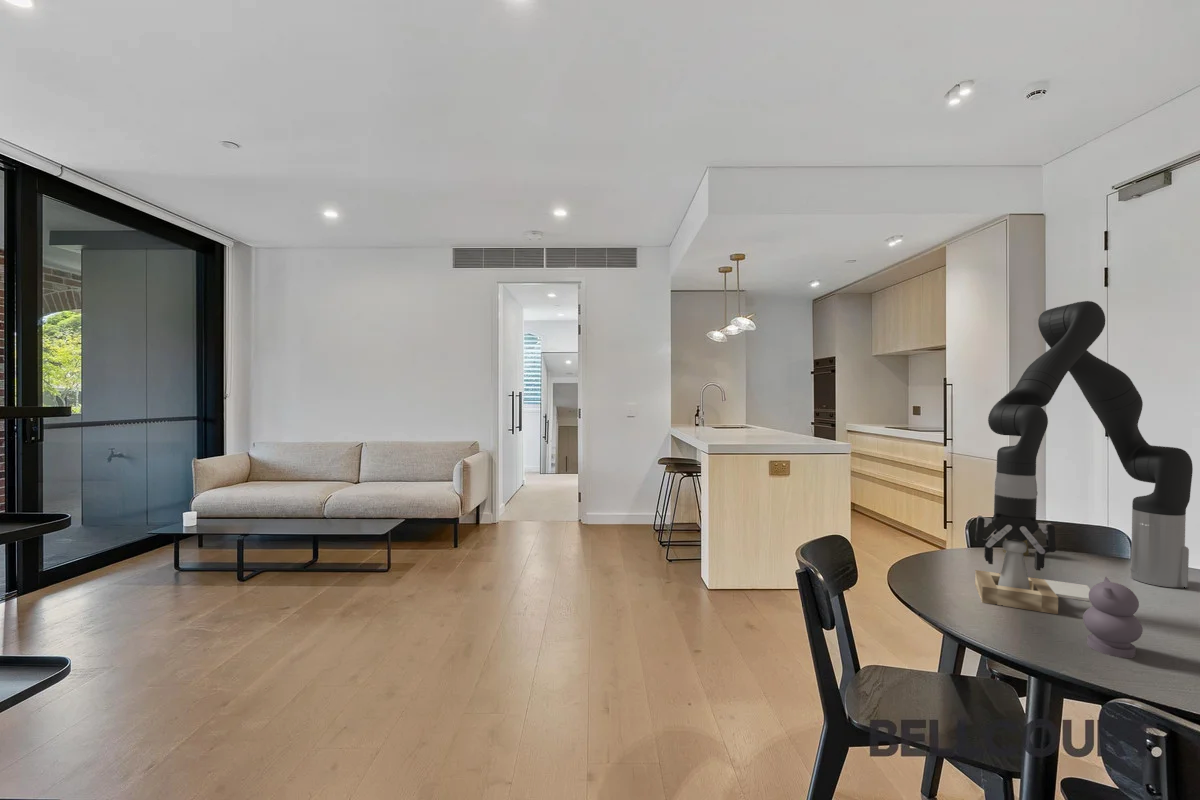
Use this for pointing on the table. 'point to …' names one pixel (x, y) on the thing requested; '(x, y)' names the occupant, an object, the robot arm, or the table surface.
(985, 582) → the socket block
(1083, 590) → the grey tile
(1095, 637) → the stacked rounded figure
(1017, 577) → the salt shaker
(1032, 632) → the table surface
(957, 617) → the table surface
